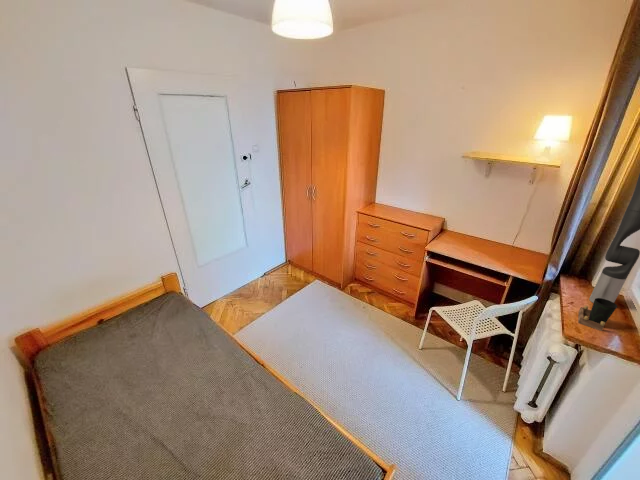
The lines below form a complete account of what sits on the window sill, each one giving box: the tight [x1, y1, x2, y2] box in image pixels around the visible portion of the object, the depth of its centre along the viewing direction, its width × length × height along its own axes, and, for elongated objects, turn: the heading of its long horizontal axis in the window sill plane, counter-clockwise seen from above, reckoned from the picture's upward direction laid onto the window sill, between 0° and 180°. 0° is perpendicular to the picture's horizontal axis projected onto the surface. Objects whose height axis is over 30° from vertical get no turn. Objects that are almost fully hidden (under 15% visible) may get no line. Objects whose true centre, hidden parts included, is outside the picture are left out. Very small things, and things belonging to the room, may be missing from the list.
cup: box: [588, 298, 618, 324], centre depth 130 cm, size 8×8×12 cm
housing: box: [577, 305, 606, 332], centre depth 133 cm, size 13×8×4 cm, turn 138°
